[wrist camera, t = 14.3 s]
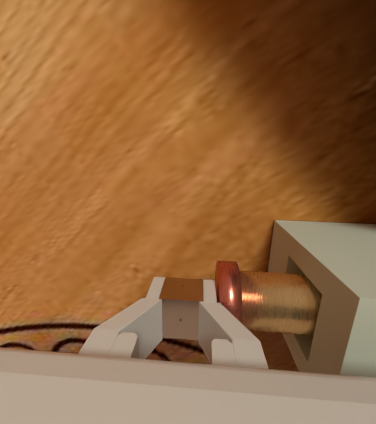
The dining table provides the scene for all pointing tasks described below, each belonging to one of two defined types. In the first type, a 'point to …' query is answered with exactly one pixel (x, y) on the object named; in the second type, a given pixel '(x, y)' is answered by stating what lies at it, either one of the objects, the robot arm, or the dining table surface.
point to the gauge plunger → (268, 299)
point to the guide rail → (332, 293)
